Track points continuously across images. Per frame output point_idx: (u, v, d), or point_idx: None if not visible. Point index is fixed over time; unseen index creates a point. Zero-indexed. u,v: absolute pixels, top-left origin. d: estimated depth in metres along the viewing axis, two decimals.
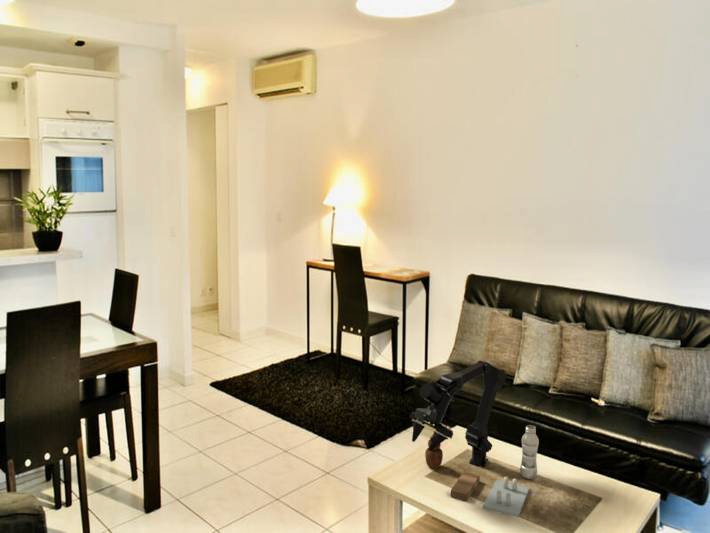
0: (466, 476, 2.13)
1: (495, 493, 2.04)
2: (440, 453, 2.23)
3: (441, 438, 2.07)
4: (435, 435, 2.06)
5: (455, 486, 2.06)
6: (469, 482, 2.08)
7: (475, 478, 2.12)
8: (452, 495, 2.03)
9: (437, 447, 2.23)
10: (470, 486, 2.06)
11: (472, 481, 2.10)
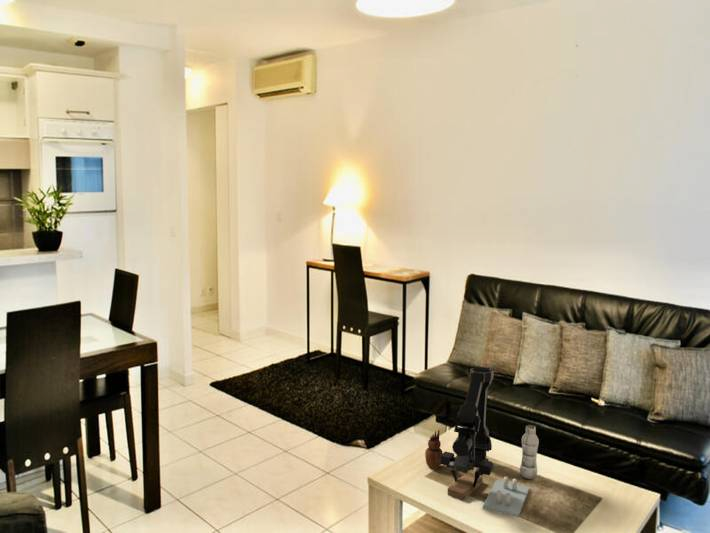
0: (468, 477, 2.13)
1: (495, 493, 2.04)
2: (440, 453, 2.23)
3: None
4: (477, 475, 2.04)
5: (453, 485, 2.07)
6: (469, 483, 2.08)
7: None
8: (449, 493, 2.04)
9: (437, 447, 2.23)
10: (469, 486, 2.06)
11: (472, 481, 2.09)
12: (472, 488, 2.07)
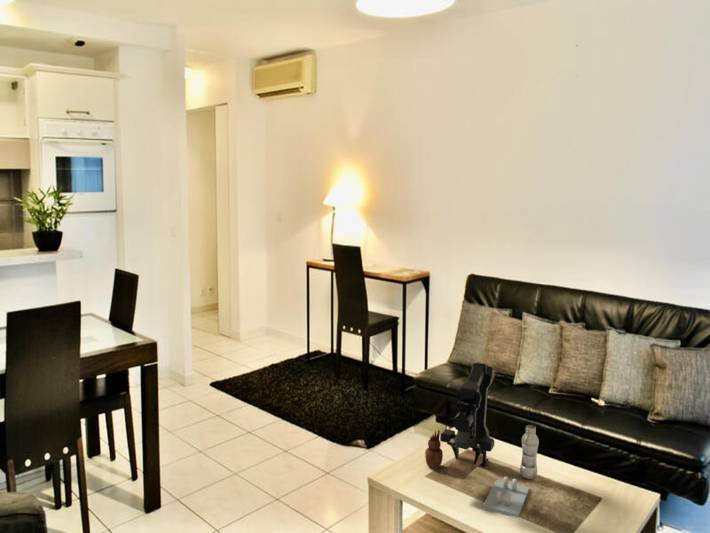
0: (469, 455, 2.11)
1: (495, 493, 2.04)
2: (440, 453, 2.23)
3: None
4: (478, 452, 2.03)
5: (454, 462, 2.05)
6: (470, 460, 2.07)
7: None
8: (450, 471, 2.03)
9: (437, 447, 2.23)
10: (469, 464, 2.05)
11: (473, 459, 2.08)
12: (473, 466, 2.06)
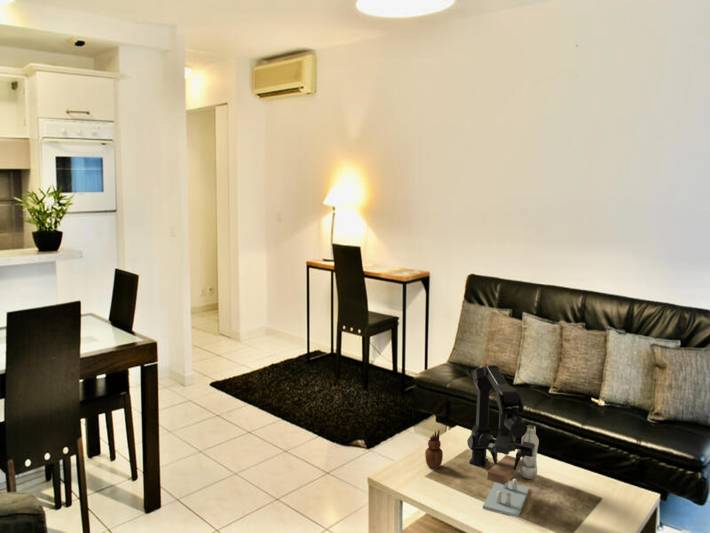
0: (507, 460, 2.05)
1: (495, 493, 2.04)
2: (440, 453, 2.23)
3: None
4: (518, 457, 1.97)
5: (493, 468, 1.99)
6: (509, 466, 2.00)
7: None
8: (489, 477, 1.96)
9: (437, 447, 2.23)
10: (509, 469, 1.98)
11: (512, 464, 2.01)
12: (512, 471, 1.99)
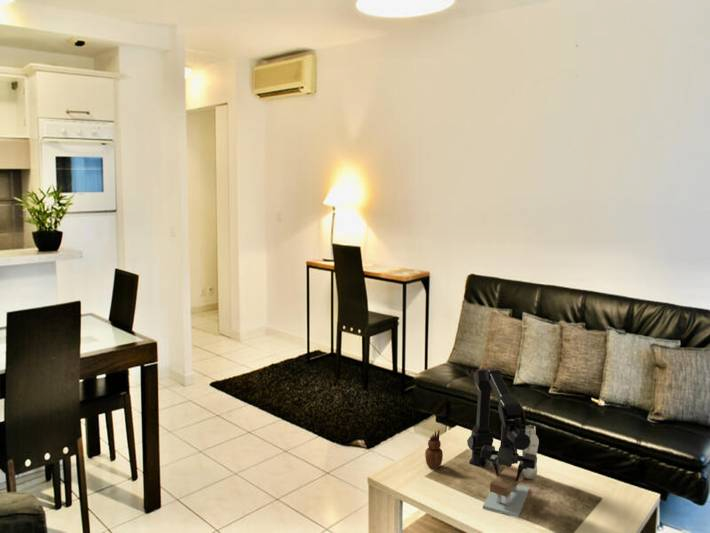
0: (509, 471, 2.05)
1: (495, 493, 2.04)
2: (440, 453, 2.23)
3: None
4: (520, 469, 1.97)
5: (495, 480, 1.99)
6: (511, 477, 2.01)
7: None
8: (491, 489, 1.97)
9: (437, 447, 2.23)
10: (511, 481, 1.98)
11: (514, 476, 2.02)
12: (515, 483, 2.00)
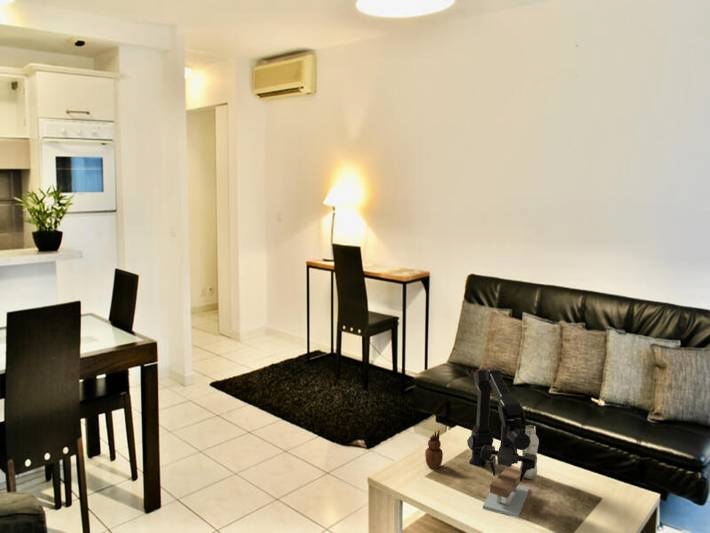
0: (509, 472, 2.05)
1: None
2: (440, 453, 2.23)
3: None
4: (524, 469, 1.96)
5: (495, 481, 1.99)
6: (511, 478, 2.01)
7: (518, 474, 2.04)
8: (491, 490, 1.97)
9: (437, 447, 2.23)
10: (511, 482, 1.98)
11: (514, 477, 2.02)
12: (515, 484, 2.00)
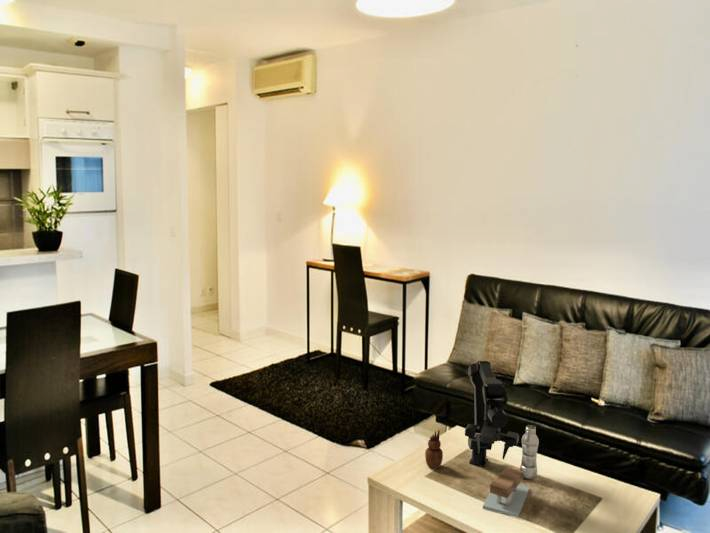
0: (509, 472, 2.05)
1: None
2: (440, 453, 2.23)
3: None
4: (506, 447, 2.04)
5: (495, 481, 1.99)
6: (511, 478, 2.01)
7: (518, 474, 2.04)
8: (491, 490, 1.97)
9: (437, 447, 2.23)
10: (511, 482, 1.98)
11: (514, 477, 2.02)
12: (515, 484, 2.00)
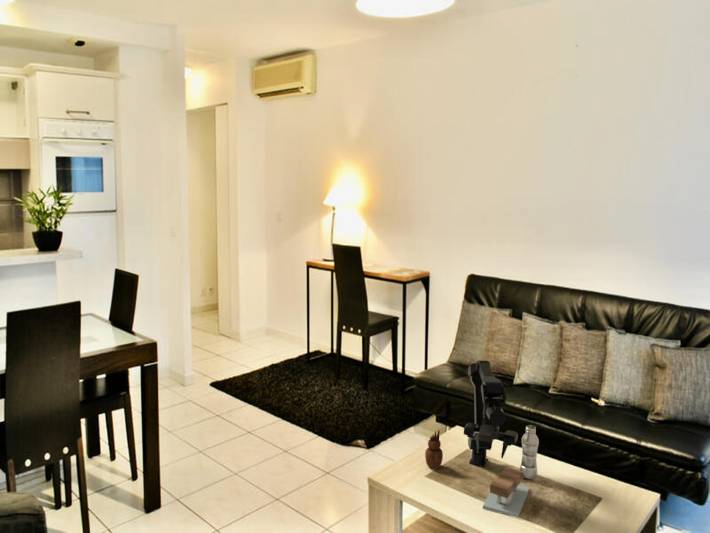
0: (509, 472, 2.05)
1: None
2: (440, 453, 2.23)
3: None
4: (505, 445, 2.05)
5: (495, 481, 1.99)
6: (511, 478, 2.01)
7: (518, 474, 2.04)
8: (491, 490, 1.97)
9: (437, 447, 2.23)
10: (511, 482, 1.98)
11: (514, 477, 2.02)
12: (515, 484, 2.00)
